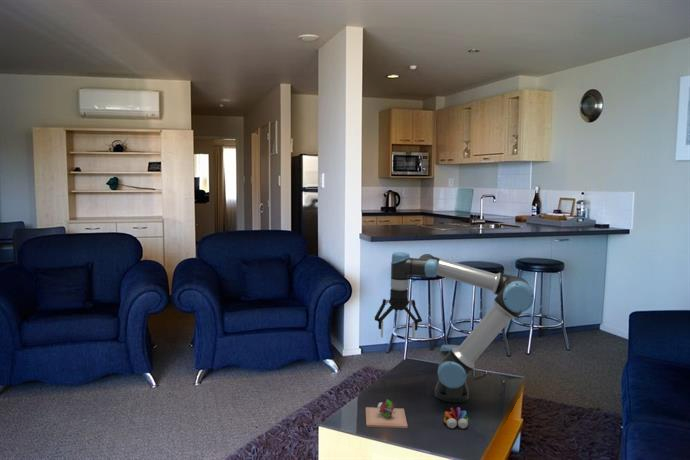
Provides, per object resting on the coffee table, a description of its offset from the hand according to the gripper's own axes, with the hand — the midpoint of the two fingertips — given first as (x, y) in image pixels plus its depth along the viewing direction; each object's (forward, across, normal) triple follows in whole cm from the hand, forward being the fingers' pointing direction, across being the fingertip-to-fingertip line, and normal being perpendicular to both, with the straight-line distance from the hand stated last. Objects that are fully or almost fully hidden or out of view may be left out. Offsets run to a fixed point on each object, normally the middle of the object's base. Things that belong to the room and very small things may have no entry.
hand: (397, 337), depth 230 cm
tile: (+29, +5, +17) cm, 34 cm away
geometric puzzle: (+28, +5, +17) cm, 33 cm away
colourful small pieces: (+29, -22, +20) cm, 42 cm away
